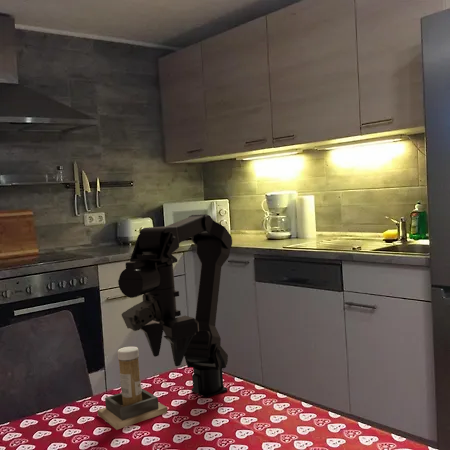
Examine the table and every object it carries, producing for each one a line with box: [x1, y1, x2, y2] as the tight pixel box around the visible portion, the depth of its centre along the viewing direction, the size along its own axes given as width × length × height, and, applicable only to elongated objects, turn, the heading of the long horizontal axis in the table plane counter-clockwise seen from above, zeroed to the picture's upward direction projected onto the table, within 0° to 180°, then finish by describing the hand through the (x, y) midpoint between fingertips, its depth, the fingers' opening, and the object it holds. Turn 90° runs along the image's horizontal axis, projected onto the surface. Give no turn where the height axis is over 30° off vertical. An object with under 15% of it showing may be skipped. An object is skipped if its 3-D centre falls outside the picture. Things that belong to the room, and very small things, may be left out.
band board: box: [97, 387, 168, 431], centre depth 121 cm, size 12×10×4 cm
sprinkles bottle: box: [117, 346, 142, 407], centre depth 120 cm, size 5×5×13 cm
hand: (166, 360), depth 115 cm, fingers open, 9 cm apart
